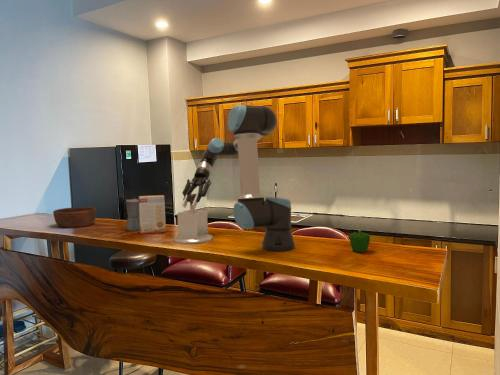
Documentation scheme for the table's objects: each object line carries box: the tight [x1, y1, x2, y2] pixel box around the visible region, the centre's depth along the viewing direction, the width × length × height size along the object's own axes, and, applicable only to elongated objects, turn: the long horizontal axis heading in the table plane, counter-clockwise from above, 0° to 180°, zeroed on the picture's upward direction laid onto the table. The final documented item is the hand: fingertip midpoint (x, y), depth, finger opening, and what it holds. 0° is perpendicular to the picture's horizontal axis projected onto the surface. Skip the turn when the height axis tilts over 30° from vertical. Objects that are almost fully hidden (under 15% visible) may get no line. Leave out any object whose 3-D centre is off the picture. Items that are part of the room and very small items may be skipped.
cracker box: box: [138, 194, 167, 235], centre depth 208 cm, size 14×6×21 cm, turn 105°
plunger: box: [187, 193, 198, 212], centre depth 188 cm, size 8×8×22 cm
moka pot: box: [120, 195, 140, 232], centre depth 217 cm, size 10×15×20 cm, turn 78°
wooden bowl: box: [52, 206, 97, 229], centre depth 235 cm, size 25×25×10 cm
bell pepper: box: [349, 229, 371, 253], centre depth 160 cm, size 8×8×10 cm
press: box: [172, 209, 214, 245], centre depth 188 cm, size 20×20×14 cm
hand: (188, 206), depth 184 cm, fingers closed on plunger, 5 cm apart
